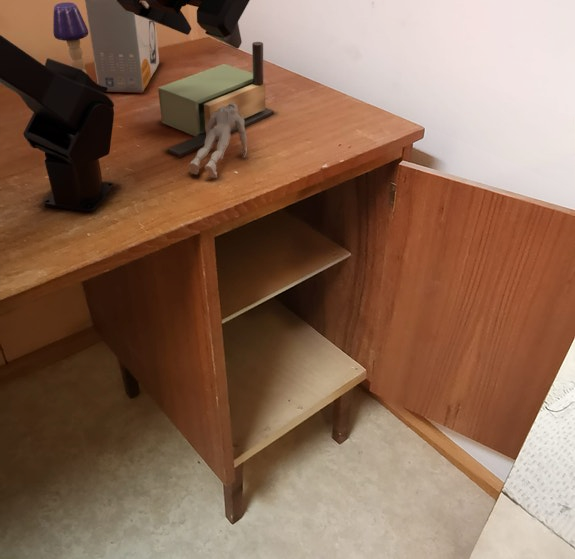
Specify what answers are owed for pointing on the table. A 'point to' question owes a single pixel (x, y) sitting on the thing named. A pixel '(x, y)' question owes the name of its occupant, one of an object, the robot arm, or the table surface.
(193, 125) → the cabinet
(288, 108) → the table surface
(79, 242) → the table surface
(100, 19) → the hard drive box
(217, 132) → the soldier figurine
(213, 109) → the door
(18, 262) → the table surface
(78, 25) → the toy lamp
